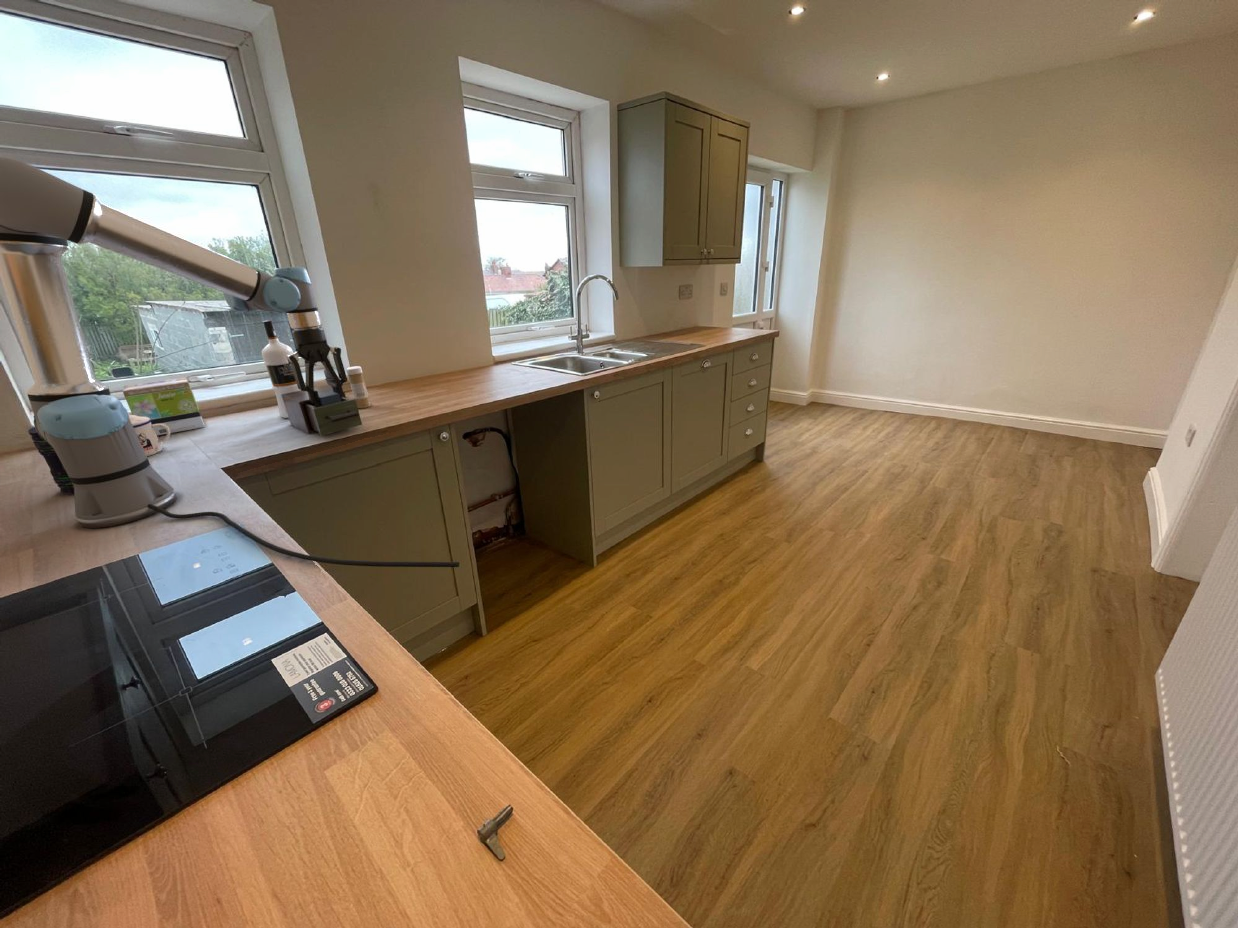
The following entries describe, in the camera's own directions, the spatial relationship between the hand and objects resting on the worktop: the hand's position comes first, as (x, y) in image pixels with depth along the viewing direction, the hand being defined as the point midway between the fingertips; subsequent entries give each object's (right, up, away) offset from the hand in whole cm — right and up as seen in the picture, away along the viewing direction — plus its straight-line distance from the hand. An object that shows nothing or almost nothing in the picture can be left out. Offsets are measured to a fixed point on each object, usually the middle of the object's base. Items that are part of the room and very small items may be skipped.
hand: (330, 410), depth 145 cm
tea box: (-54, -5, +10) cm, 55 cm away
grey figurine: (-19, +8, +36) cm, 41 cm away
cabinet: (-8, -3, +9) cm, 13 cm away
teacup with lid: (-45, -13, -8) cm, 47 cm away
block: (0, 0, 0) cm, 0 cm away
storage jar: (-40, -21, -28) cm, 53 cm away
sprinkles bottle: (-3, +4, +24) cm, 25 cm away
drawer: (+1, -5, +2) cm, 5 cm away
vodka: (-22, +1, +20) cm, 30 cm away
